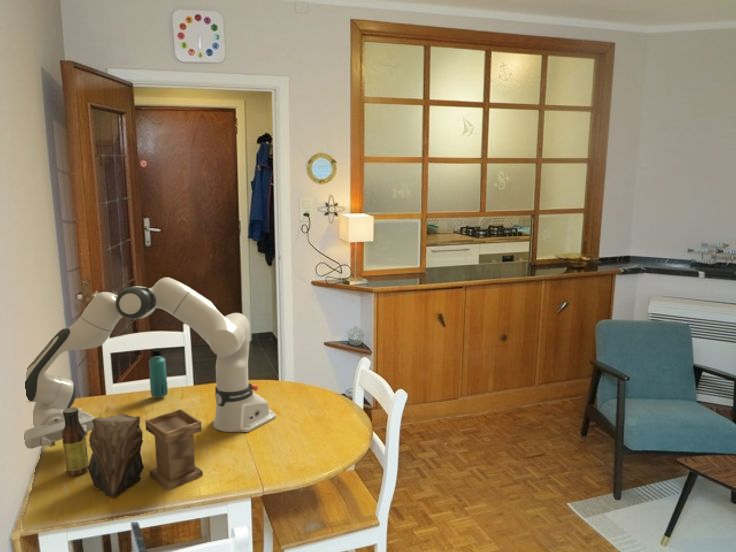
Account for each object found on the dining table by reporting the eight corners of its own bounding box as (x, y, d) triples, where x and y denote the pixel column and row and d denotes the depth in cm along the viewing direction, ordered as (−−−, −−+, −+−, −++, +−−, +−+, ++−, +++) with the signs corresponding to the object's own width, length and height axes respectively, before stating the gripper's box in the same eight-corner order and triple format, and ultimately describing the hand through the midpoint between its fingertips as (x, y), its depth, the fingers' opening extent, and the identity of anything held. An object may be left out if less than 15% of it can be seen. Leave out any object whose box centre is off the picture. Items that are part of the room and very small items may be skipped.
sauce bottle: (93, 470, 180) (88, 408, 176) (73, 479, 175) (68, 416, 171) (80, 463, 184) (75, 403, 180) (61, 472, 179) (55, 410, 175)
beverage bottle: (162, 401, 230) (159, 352, 227) (147, 400, 232) (144, 351, 228) (171, 395, 237) (168, 347, 233) (156, 393, 238) (153, 346, 234)
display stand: (183, 461, 186) (180, 409, 182) (203, 476, 178) (201, 421, 174) (148, 474, 178) (145, 420, 175) (168, 490, 170) (165, 433, 166)
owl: (87, 484, 172) (81, 420, 168) (126, 466, 182) (122, 405, 178) (112, 499, 165) (106, 432, 161) (151, 480, 175) (147, 416, 171)
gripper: (16, 425, 183) (30, 440, 173) (84, 406, 197) (101, 419, 188) (18, 444, 184) (33, 460, 174) (86, 423, 198) (103, 437, 189)
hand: (69, 438), depth 181 cm, fingers open, 8 cm apart
